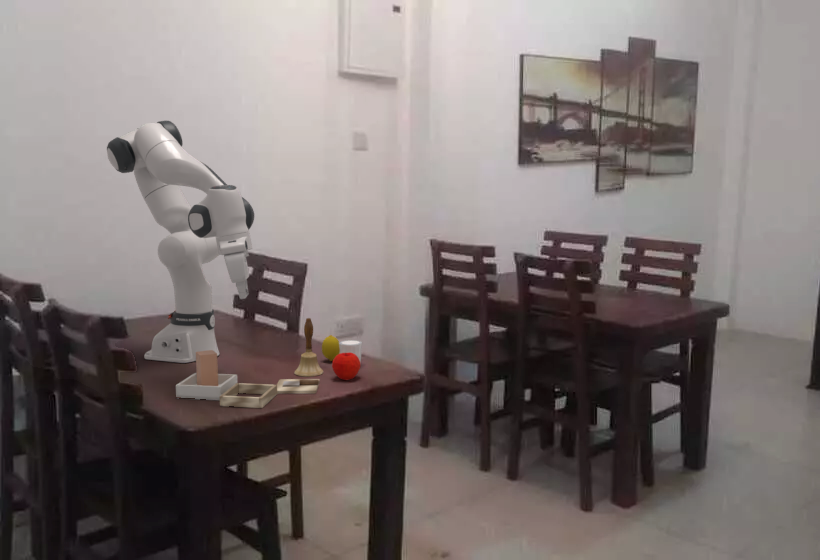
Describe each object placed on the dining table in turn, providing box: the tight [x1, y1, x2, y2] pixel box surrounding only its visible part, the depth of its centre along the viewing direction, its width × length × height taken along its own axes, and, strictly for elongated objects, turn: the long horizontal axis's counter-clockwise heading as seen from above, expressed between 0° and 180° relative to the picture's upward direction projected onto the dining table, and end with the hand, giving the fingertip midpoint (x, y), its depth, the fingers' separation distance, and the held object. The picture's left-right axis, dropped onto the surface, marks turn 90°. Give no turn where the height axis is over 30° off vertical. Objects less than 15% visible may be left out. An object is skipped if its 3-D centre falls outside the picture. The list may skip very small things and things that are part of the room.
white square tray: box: [175, 372, 238, 401], centre depth 219 cm, size 12×12×4 cm
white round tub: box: [339, 339, 363, 366], centre depth 247 cm, size 7×7×7 cm
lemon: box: [321, 334, 340, 362], centre depth 252 cm, size 6×6×8 cm
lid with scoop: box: [276, 378, 321, 395], centre depth 224 cm, size 11×11×2 cm
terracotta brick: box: [195, 350, 219, 386], centre depth 219 cm, size 4×4×10 cm
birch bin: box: [219, 382, 278, 409], centre depth 213 cm, size 11×12×2 cm
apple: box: [331, 353, 361, 381], centre depth 233 cm, size 8×8×7 cm
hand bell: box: [294, 317, 324, 378], centre depth 238 cm, size 8×8×16 cm
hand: (244, 297), depth 221 cm, fingers open, 8 cm apart
